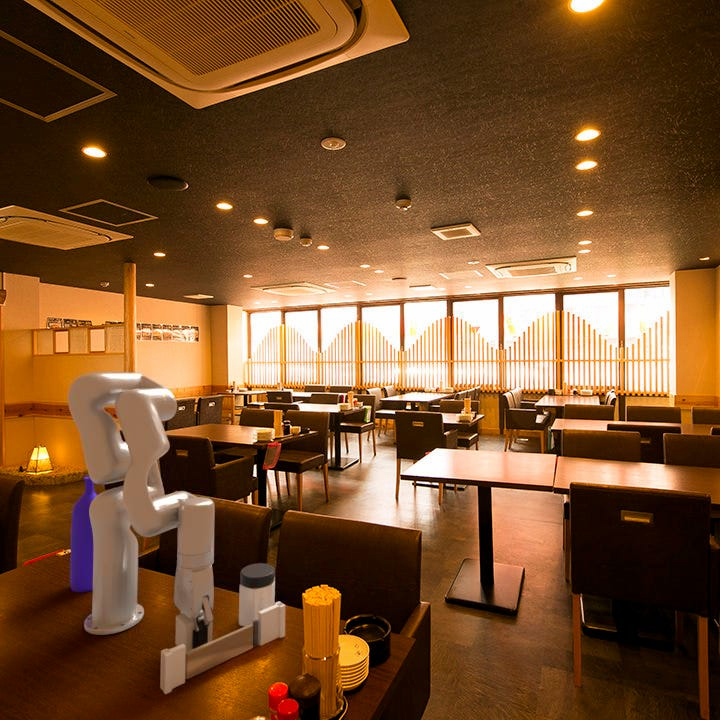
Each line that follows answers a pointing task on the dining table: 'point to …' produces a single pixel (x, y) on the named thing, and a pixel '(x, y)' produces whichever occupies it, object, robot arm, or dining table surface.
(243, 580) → the jar
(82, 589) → the bottle
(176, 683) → the white flat upright blocks
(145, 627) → the dining table surface
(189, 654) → the gate
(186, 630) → the block
